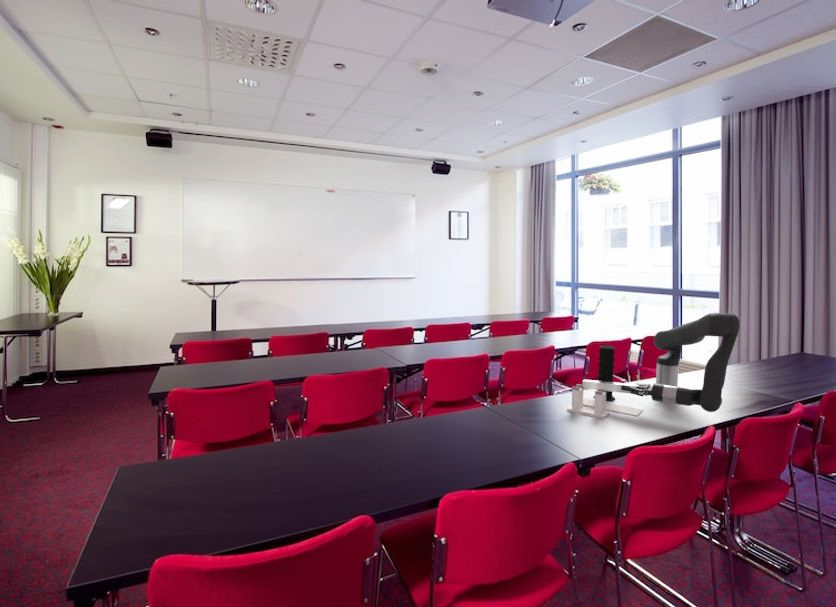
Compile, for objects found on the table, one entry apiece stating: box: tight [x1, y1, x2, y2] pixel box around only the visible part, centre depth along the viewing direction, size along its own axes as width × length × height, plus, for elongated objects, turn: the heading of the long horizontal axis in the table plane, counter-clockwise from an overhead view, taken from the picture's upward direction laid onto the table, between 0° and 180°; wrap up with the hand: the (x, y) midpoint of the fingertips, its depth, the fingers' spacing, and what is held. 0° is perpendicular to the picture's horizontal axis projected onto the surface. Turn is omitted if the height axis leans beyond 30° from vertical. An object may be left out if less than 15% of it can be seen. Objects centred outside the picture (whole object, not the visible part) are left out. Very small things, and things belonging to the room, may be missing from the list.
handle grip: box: [593, 344, 616, 402], centre depth 220 cm, size 10×26×10 cm
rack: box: [567, 383, 610, 420], centre depth 200 cm, size 7×16×11 cm, turn 50°
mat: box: [583, 397, 644, 417], centre depth 209 cm, size 10×28×1 cm, turn 50°
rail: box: [581, 379, 639, 395], centre depth 207 cm, size 24×4×4 cm, turn 50°
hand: (622, 386), depth 204 cm, fingers closed on rail, 3 cm apart
